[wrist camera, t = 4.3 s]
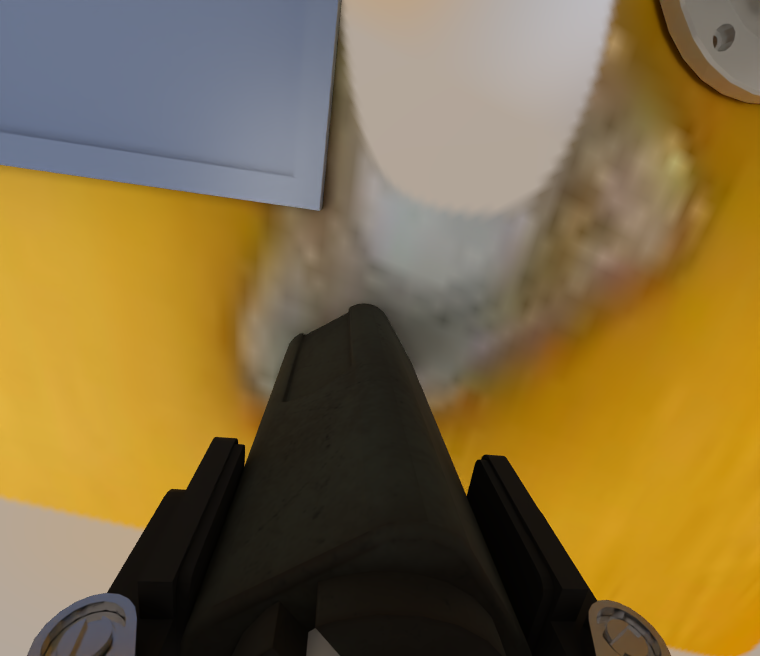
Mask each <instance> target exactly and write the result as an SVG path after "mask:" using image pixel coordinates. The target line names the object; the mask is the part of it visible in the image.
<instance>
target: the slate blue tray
mask: <svg viewBox="0 0 760 656" xmlns="http://www.w3.org/2000/svg"><path fill="white" fill-rule="evenodd" d="M341 1H342V0H0V165H6V166H13V167H20V168H27V169H34V170H40V171H47V172H54V173H61V174H68V175H75V176H82V177H89V178H96V179H103V180H110V181H117V182H124V183H131V184H138V185H145V186H152V187H158V188H165V189H172V190H179V191H186V192H193V193H200V194H207V195H214V196H221V197H228V198H235V199H242V200H249V201H256V202H263V203H270V204H277V205H283V206H290V207H297V208H304V209H311V210H318V211H320V210H322V206H323V195H324V185H325V174H326V163H327V152H328V141H329V131H330V120H331V109H332V98H333V87H334V76H335V66H336V55H337V44H338V33H339V22H340V12H341Z"/></svg>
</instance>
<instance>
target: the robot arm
mask: <svg viewBox="0 0 760 656" xmlns="http://www.w3.org/2000/svg"><path fill="white" fill-rule="evenodd" d="M660 3H661V7H662V10H663V14H664V17H665V20H666V24H667V27H668V30H669V33H670V35H671V37H672V39H673V41H674V43H675V44H676V46H677V48H678V50H679V52H680V54H681V56H682V58H683V59H684V60H685V62H686V63H687V64H688V65H689V66H690V67H691V69H692V70H693V71H694V72H695V73H696V74H697V75H698V77H699V78H700V79H701V80H702V81H704V82H705V83H707V84H708V85H710V86H711V87H713V88H714V89H715V90H717V91H718V92H720V93H721V94H723V95H726V96H729V97H732V98H735V99H737V100H740V101H743V102H746V103H758V104H760V0H660ZM244 463H245V445H241V444H238V439H237V438H222V437H215V438H214V439H213V441H212V442H211V444H210V446H209V448H208V450H207V452H206V454H205V455H204V457H203V459H202V461H201V463H200V465H199V467H198V469H197V470H196V472H195V474H194V476H193V478H192V480H191V482H190V484H189V485H188V487H187V489H186V490H179V489H171V490H169V491H168V492H167V494H166V495H165V496H164V498H163V500H162V501H161V503H160V505H159V506H158V508H157V510H156V511H155V513H154V515H153V516H152V518H151V520H150V522H149V523H148V525H147V527H146V528H145V530H144V532H143V533H142V535H141V537H140V538H139V540H138V542H137V543H136V545H135V547H134V548H133V550H132V552H131V554H130V555H129V557H128V559H127V560H126V562H125V564H124V565H123V567H122V569H121V571H120V572H119V574H118V575H117V577H116V579H115V580H114V582H113V584H112V585H111V587H110V589H109V590H108V592H107V593H104V594H98V595H93V596H90V597H87V598H85V599H82V600H80V601H77V602H75V603H73V604H72V605H70V606H69V607H67V608H65V609H64V610H62V611H60V612H59V613H58V614H57V615H56V616H55V617H54V618H52V619H51V620H50V621H49V622H48V623H47V624H46V625H45V626H44V627H43V629H42V630H41V631H40V632H39V634H38V635H37V637H36V638H35V639H34V641H33V643H32V646H31V648H30V650H29V652H28V655H27V656H180V643H181V639H182V636H183V633H184V631H185V628H186V625H187V623H188V620H189V618H190V615H191V613H192V610H193V607H194V604H195V602H196V599H197V596H198V593H199V591H200V588H201V585H202V583H203V580H204V577H205V574H206V572H207V569H208V566H209V563H210V561H211V558H212V555H213V552H214V550H215V547H216V544H217V541H218V539H219V536H220V533H221V530H222V528H223V525H224V522H225V519H226V517H227V514H228V511H229V508H230V506H231V503H232V500H233V497H234V495H235V492H236V489H237V486H238V484H239V481H240V478H241V475H242V473H243V470H244ZM467 499H468V501H469V503H470V506H471V508H472V511H473V513H474V515H475V518H476V520H477V523H478V525H479V527H480V530H481V532H482V535H483V537H484V540H485V542H486V544H487V547H488V549H489V552H490V554H491V556H492V559H493V561H494V564H495V566H496V568H497V571H498V573H499V576H500V578H501V581H502V583H503V585H504V588H505V590H506V593H507V595H508V597H509V600H510V602H511V605H512V607H513V609H514V612H515V614H516V617H517V619H518V622H519V624H520V626H521V629H522V631H523V634H524V636H525V638H526V641H527V643H528V646H529V648H530V651H531V654H532V656H671V655H670V652H669V650H668V648H667V646H666V644H665V642H664V640H663V639H662V637H661V636H660V635H659V634H658V632H657V631H656V630H655V628H654V627H653V626H652V625H651V624H650V623H649V622H647V621H646V620H645V619H644V618H643V617H642V616H641V615H639V614H638V613H636V612H635V611H633V610H632V609H631V608H629V607H626V606H624V605H622V604H620V603H618V602H614V601H609V600H601V601H597V600H596V598H595V597H594V595H593V593H592V592H591V590H590V589H589V587H588V586H587V584H586V582H585V581H584V579H583V578H582V576H581V574H580V573H579V571H578V570H577V568H576V566H575V565H574V563H573V562H572V560H571V559H570V557H569V555H568V554H567V552H566V551H565V549H564V547H563V546H562V544H561V543H560V541H559V540H558V538H557V536H556V535H555V533H554V532H553V530H552V528H551V527H550V525H549V524H548V522H547V520H546V519H545V517H544V516H543V514H542V513H541V512H540V510H539V509H538V507H537V506H536V504H535V503H534V501H533V499H532V498H531V496H530V495H529V493H528V491H527V490H526V488H525V487H524V485H523V484H522V482H521V480H520V479H519V477H518V476H517V474H516V472H515V471H514V469H513V468H512V466H511V464H510V463H509V461H508V460H507V458H506V457H505V456H497V455H483V457H482V459H481V460H477V461H476V463H475V466H474V470H473V474H472V478H471V482H470V486H469V489H468V493H467Z"/></svg>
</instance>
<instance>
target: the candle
mask: <svg viewBox="0 0 760 656" xmlns="http://www.w3.org/2000/svg"><path fill="white" fill-rule="evenodd" d="M180 656H532V654H531V651H530V648H529V646H528V643H527V641H526V638H525V636H524V634H523V631H522V629H521V626H520V624H519V622H518V619H517V617H516V614H515V612H514V609H513V607H512V605H511V602H510V600H509V597H508V595H507V593H506V590H505V588H504V585H503V583H502V581H501V578H500V576H499V573H498V571H497V568H496V566H495V564H494V561H493V559H492V556H491V554H490V552H489V549H488V547H487V544H486V542H485V540H484V537H483V535H482V532H481V530H480V527H479V525H478V523H477V520H476V518H475V515H474V513H473V511H472V508H471V506H470V503H469V501H468V499H467V496H466V494H465V491H464V489H463V486H462V484H461V482H460V479H459V477H458V474H457V472H456V470H455V467H454V465H453V462H452V460H451V457H450V455H449V453H448V450H447V448H446V445H445V443H444V441H443V438H442V436H441V433H440V431H439V429H438V426H437V424H436V421H435V419H434V416H433V414H432V412H431V409H430V407H429V404H428V402H427V400H426V397H425V395H424V392H423V390H422V388H421V385H420V383H419V380H418V378H417V375H416V373H415V371H414V368H413V366H412V363H411V362H410V360H409V358H408V356H407V354H406V352H405V350H404V349H403V347H402V345H401V343H400V341H399V339H398V337H397V336H396V334H395V332H394V330H393V328H392V326H391V324H390V323H389V321H388V319H387V317H386V316H385V314H384V313H383V312H382V311H381V310H380V309H379V308H377V307H375V306H373V305H369V304H358V305H355V306H352V307H350V308H349V313H347V314H345V315H343V316H341V317H340V318H338V319H336V320H334V321H332V322H330V323H328V324H326V325H324V326H323V327H321V328H319V329H317V330H315V331H313V332H311V333H309V334H307V335H304V334H299V335H298V336H296V337H295V338H294V339H293V340H292V341H291V342H290V344H289V347H288V349H287V352H286V354H285V357H284V360H283V363H282V365H281V368H280V371H279V373H278V376H277V379H276V382H275V384H274V387H273V390H272V393H271V395H270V398H269V401H268V404H267V406H266V409H265V412H264V415H263V417H262V420H261V423H260V425H259V428H258V431H257V434H256V436H255V439H254V442H253V445H252V447H251V450H250V453H249V456H248V458H247V461H246V464H245V467H244V470H243V473H242V475H241V478H240V481H239V484H238V486H237V489H236V492H235V495H234V497H233V500H232V503H231V506H230V508H229V511H228V514H227V517H226V519H225V522H224V525H223V528H222V530H221V533H220V536H219V539H218V541H217V544H216V547H215V550H214V552H213V555H212V558H211V561H210V563H209V566H208V569H207V572H206V574H205V577H204V580H203V583H202V585H201V588H200V591H199V593H198V596H197V599H196V602H195V604H194V607H193V610H192V613H191V615H190V618H189V620H188V623H187V625H186V628H185V631H184V633H183V636H182V639H181V643H180Z"/></svg>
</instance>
